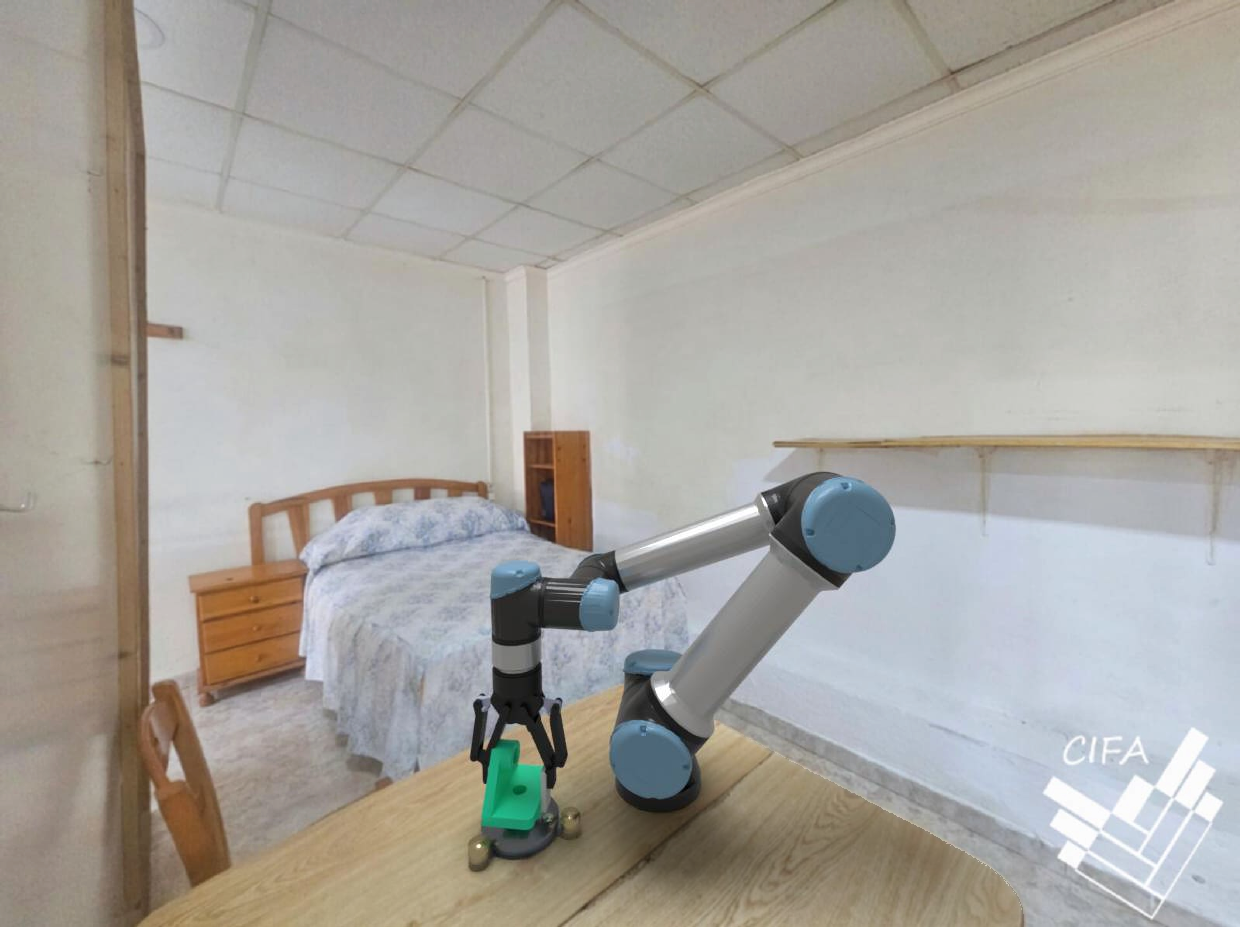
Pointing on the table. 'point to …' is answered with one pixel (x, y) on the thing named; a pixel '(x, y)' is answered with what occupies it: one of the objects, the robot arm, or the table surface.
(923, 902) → the table surface
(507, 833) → the plate
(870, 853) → the table surface
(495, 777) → the camera mount
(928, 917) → the table surface
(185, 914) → the table surface
